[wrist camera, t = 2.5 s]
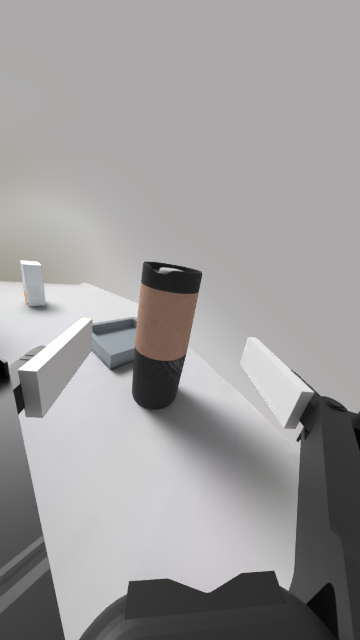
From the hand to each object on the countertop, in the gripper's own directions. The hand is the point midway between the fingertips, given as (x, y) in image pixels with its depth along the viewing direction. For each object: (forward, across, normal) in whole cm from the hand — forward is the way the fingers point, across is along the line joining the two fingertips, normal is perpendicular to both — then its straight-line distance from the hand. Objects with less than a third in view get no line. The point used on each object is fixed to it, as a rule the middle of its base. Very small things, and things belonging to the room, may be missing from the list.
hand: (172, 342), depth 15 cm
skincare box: (+43, -38, -14) cm, 60 cm away
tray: (+25, -8, -14) cm, 30 cm away
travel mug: (+10, 0, -15) cm, 18 cm away
